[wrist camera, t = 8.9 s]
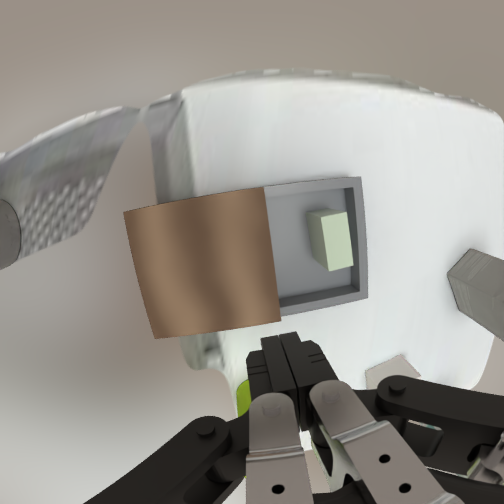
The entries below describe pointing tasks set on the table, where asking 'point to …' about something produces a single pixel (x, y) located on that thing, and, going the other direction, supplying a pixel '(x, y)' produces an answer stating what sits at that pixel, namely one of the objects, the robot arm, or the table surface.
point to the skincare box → (480, 289)
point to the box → (300, 251)
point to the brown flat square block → (205, 263)
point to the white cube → (390, 371)
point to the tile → (330, 238)
